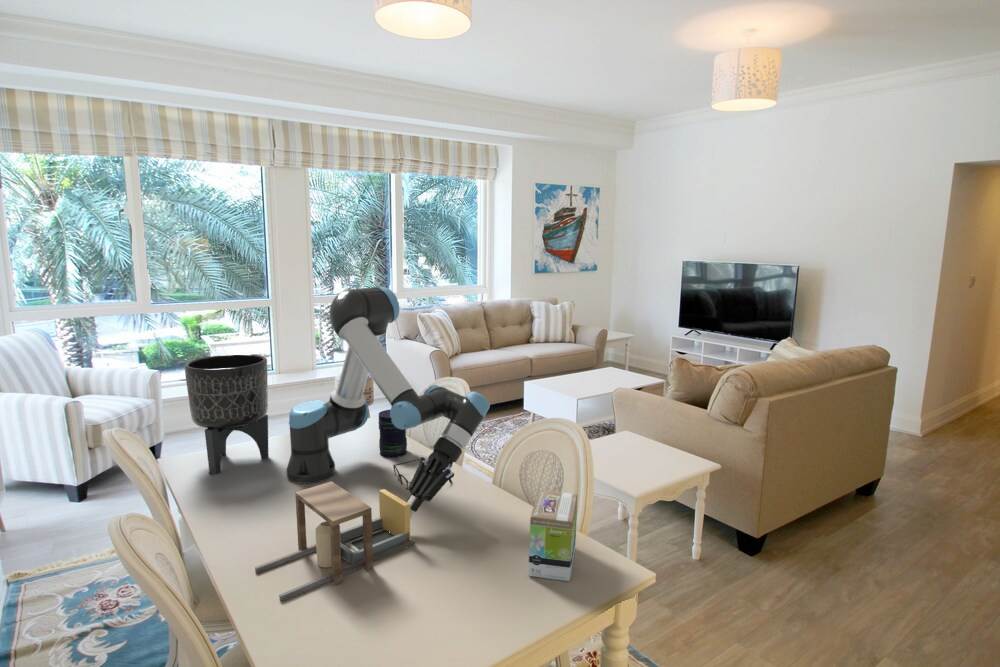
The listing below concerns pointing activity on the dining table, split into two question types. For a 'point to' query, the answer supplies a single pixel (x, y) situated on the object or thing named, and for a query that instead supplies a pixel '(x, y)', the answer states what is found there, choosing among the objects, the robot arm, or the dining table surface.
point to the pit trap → (376, 538)
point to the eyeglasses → (403, 476)
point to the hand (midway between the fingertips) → (402, 520)
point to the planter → (229, 401)
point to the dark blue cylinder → (391, 437)
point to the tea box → (552, 535)
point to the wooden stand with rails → (331, 532)
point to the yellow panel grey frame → (390, 519)
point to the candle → (324, 545)
